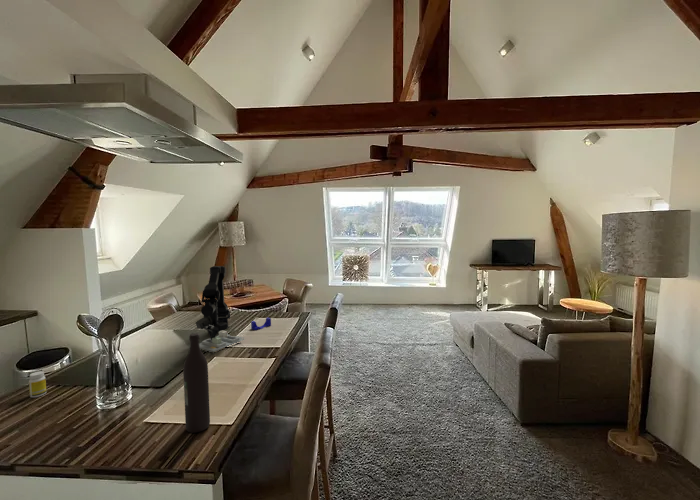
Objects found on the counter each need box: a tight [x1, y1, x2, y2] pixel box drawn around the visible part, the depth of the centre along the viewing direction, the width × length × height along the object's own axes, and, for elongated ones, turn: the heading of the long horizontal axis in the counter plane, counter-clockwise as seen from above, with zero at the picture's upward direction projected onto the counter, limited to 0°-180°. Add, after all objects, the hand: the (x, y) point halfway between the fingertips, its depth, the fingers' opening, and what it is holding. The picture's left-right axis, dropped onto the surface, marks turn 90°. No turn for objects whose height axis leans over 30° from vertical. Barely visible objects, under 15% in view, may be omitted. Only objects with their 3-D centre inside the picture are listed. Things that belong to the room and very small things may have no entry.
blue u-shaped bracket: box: [250, 317, 272, 331], centre depth 210 cm, size 12×4×6 cm, turn 136°
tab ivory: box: [218, 329, 228, 338], centre depth 190 cm, size 4×3×4 cm, turn 60°
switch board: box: [199, 333, 245, 353], centre depth 184 cm, size 16×22×3 cm
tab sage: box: [212, 337, 222, 345], centre depth 179 cm, size 4×3×4 cm, turn 60°
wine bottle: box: [182, 332, 211, 434], centre depth 107 cm, size 7×7×30 cm
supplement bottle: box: [28, 370, 48, 398], centre depth 130 cm, size 5×5×8 cm
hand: (212, 340), depth 181 cm, fingers closed
